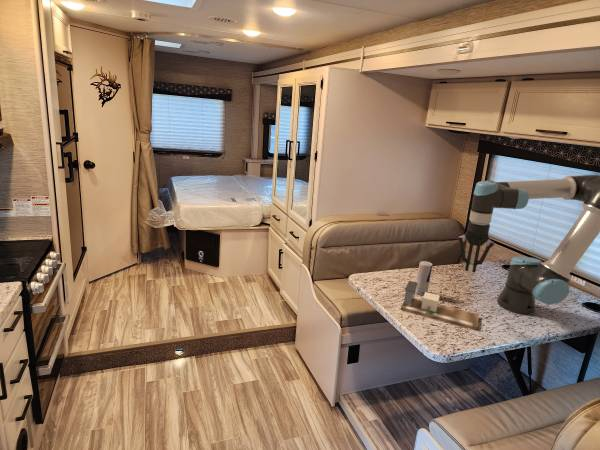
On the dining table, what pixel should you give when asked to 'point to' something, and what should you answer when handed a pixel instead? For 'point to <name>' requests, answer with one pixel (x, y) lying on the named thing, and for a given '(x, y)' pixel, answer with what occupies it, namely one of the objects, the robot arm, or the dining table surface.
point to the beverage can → (423, 277)
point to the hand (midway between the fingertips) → (468, 278)
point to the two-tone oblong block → (410, 293)
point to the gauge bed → (445, 314)
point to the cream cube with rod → (430, 302)
